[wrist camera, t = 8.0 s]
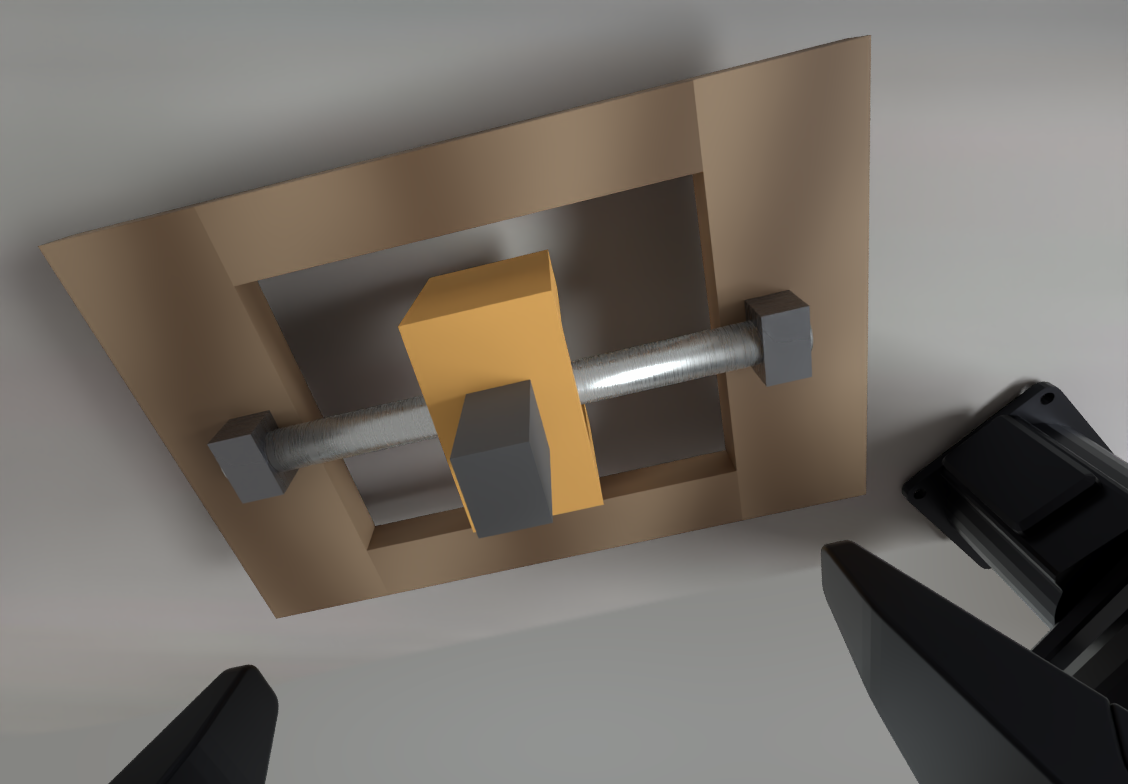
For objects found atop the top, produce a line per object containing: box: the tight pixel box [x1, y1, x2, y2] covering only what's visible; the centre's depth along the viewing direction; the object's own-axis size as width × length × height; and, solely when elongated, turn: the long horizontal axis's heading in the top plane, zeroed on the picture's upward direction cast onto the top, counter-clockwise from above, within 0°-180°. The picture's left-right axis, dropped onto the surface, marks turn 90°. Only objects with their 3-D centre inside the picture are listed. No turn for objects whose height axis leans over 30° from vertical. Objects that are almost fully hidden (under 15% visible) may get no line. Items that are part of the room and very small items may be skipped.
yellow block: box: [398, 250, 604, 539], centre depth 15 cm, size 4×6×8 cm, turn 13°
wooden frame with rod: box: [38, 35, 871, 619], centre depth 19 cm, size 20×13×4 cm, turn 103°
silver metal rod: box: [207, 290, 813, 503], centre depth 16 cm, size 16×2×1 cm, turn 103°
